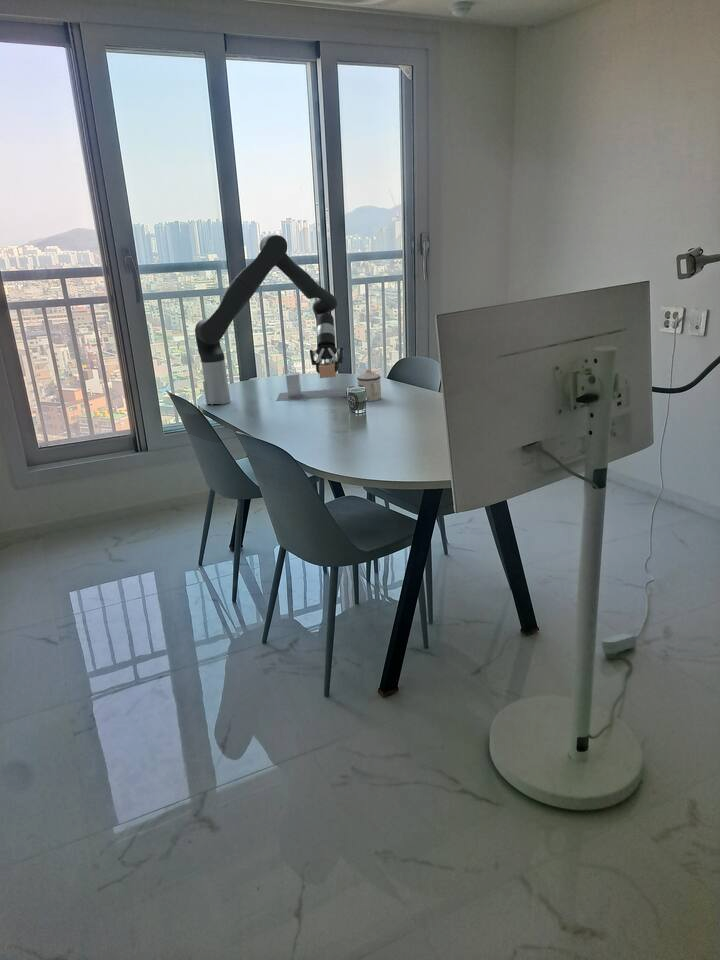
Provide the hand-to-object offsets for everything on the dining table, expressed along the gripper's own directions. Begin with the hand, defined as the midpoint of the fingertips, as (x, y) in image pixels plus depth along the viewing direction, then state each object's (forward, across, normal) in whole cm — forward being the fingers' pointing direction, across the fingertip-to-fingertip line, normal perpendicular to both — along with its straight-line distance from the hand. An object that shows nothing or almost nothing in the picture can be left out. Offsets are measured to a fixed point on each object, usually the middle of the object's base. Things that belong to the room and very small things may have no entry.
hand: (327, 371), depth 263 cm
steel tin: (+5, -14, +8) cm, 17 cm away
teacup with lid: (+15, +17, -1) cm, 23 cm away
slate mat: (+6, -7, +8) cm, 12 cm away
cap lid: (0, 0, +3) cm, 3 cm away
